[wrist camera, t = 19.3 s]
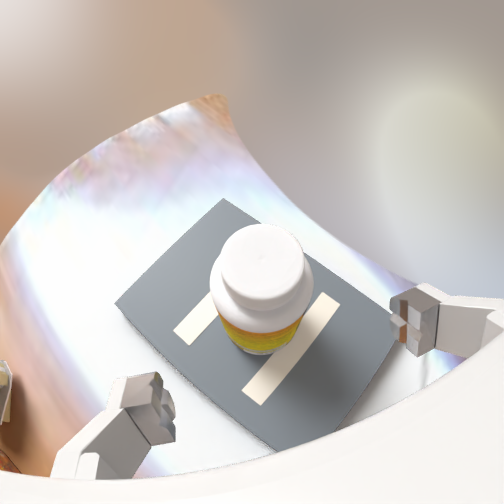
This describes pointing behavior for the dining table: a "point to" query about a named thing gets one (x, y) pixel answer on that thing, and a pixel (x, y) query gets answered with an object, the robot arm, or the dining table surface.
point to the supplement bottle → (261, 288)
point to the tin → (7, 464)
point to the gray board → (260, 366)
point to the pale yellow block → (5, 391)
